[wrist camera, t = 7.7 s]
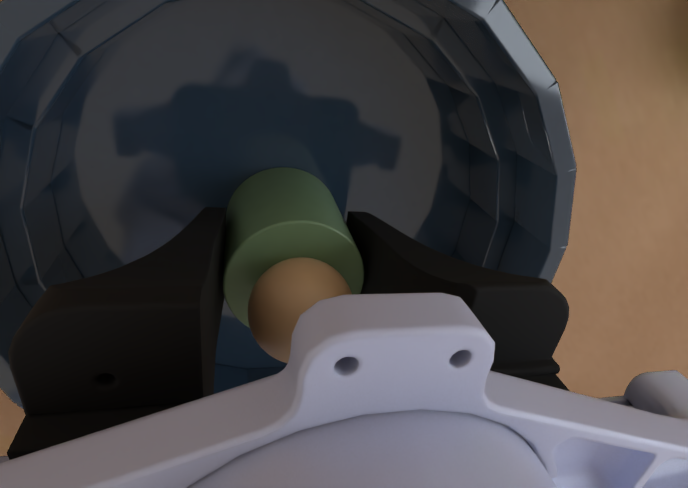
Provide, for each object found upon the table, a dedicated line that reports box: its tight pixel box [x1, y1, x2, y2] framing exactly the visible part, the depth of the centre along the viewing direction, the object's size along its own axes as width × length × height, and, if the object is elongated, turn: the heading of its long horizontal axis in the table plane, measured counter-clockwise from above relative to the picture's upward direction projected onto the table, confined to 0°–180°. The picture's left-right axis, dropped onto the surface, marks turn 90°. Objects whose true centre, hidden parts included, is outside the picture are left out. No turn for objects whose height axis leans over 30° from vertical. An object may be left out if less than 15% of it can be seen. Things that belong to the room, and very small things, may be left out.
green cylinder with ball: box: [223, 167, 364, 363], centre depth 12 cm, size 4×4×6 cm
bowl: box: [0, 0, 577, 409], centre depth 13 cm, size 16×16×4 cm
